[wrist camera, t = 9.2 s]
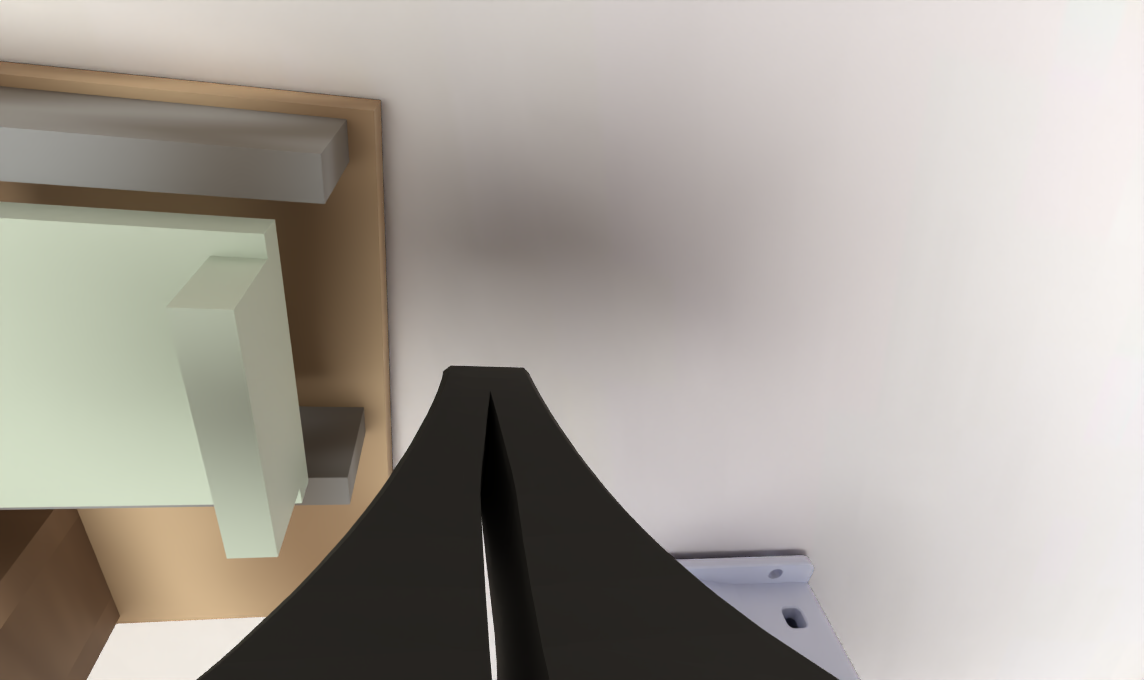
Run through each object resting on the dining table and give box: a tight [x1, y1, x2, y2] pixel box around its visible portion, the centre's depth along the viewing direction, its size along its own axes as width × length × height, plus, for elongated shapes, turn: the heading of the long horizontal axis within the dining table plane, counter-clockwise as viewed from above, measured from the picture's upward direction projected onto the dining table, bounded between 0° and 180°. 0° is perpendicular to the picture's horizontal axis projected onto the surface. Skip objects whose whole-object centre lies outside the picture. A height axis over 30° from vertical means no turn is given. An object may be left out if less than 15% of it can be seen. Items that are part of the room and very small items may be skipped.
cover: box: [0, 202, 308, 559], centre depth 10 cm, size 6×6×2 cm
